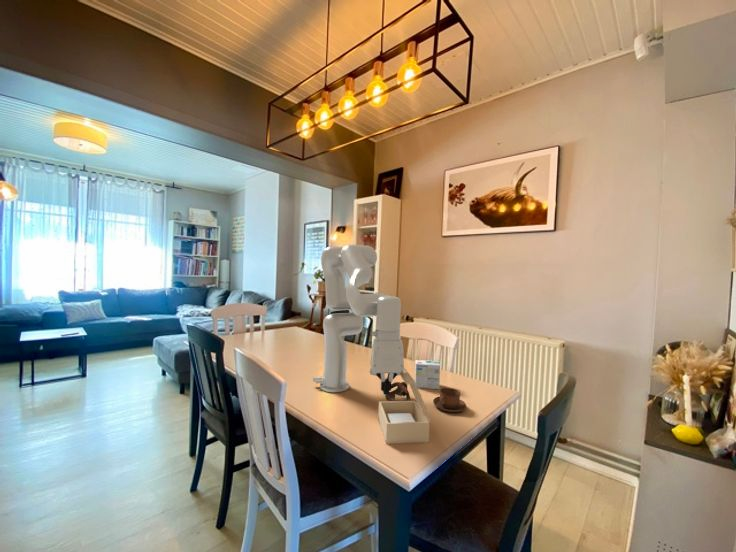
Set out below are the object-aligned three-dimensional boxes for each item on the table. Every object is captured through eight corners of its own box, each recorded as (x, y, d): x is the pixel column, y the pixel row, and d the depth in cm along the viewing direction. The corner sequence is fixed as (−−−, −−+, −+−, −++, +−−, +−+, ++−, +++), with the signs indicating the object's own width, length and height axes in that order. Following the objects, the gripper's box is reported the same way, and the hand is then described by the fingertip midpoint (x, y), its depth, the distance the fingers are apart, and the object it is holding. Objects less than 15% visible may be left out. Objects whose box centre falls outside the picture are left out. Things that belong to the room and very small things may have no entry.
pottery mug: (409, 410, 114) (398, 391, 113) (388, 415, 118) (378, 396, 118) (417, 391, 124) (408, 373, 124) (398, 396, 129) (388, 379, 128)
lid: (406, 383, 91) (414, 379, 91) (395, 367, 105) (402, 364, 106) (423, 423, 92) (431, 419, 92) (410, 402, 106) (417, 398, 107)
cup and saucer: (462, 418, 108) (463, 401, 108) (429, 410, 114) (429, 393, 114) (468, 405, 119) (469, 389, 119) (437, 398, 124) (438, 383, 124)
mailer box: (386, 443, 91) (386, 423, 90) (378, 418, 105) (378, 401, 105) (428, 442, 92) (429, 422, 92) (415, 417, 107) (415, 400, 107)
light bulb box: (437, 384, 140) (438, 360, 139) (439, 389, 133) (440, 365, 133) (414, 382, 141) (415, 359, 140) (414, 388, 134) (415, 363, 134)
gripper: (365, 337, 93) (363, 398, 93) (413, 338, 94) (411, 397, 95) (363, 332, 100) (361, 388, 101) (408, 333, 102) (406, 387, 102)
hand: (385, 392), depth 98 cm, fingers closed
